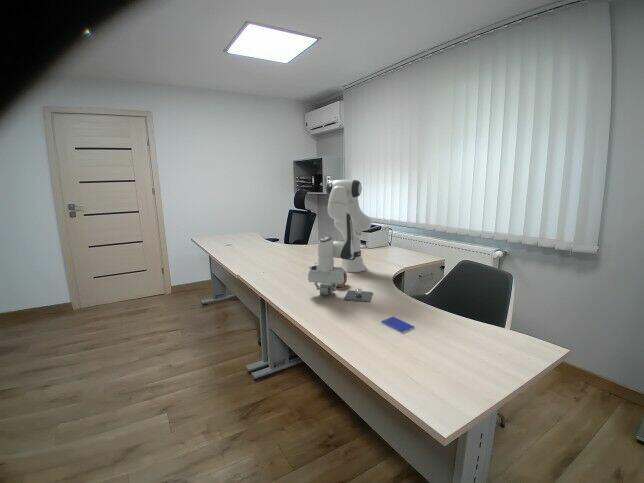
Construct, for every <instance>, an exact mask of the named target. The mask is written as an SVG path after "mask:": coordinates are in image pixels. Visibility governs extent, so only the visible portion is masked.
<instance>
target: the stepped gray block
mask: <svg viewBox="0 0 644 483" xmlns="http://www.w3.org/2000/svg"><path fill="white" fill-rule="evenodd" d="M319 286H320V289H319V296H323V297H332V296H333V294H334V292H335V291H333V287H334V285H333V284H331V283H320V285H319Z"/></svg>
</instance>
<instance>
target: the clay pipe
mask: <svg viewBox="0 0 644 483" xmlns="http://www.w3.org/2000/svg"><path fill="white" fill-rule="evenodd" d="M347 279H348V274H347V272H346V271H344V283H343V284H338V285H337V287H338V288H341V287H344V286H345V285H346V283H347ZM333 287H335V284H333Z"/></svg>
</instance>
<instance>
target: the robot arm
mask: <svg viewBox="0 0 644 483" xmlns="http://www.w3.org/2000/svg"><path fill="white" fill-rule="evenodd" d="M362 190H363V186H362V183H361V182H360V180H357V179H347V178H346V179H336V180H335V179H331V180H329V181H328V182H327V183H326V186H325V192H326V194H327V196H329V197H328V203H327V214H328V216H329V218H331V219H333V220H334V222H333V223H334V224H333V225H334V228H336V230H337V231H338V232H340V233H341V235H342V237H343V241H341V240H333V237H330V236H323V237H320V238H318V239H319V240H318V241H317V242H318V243H317V256H318V257H317V262H315V263H312V264H311V265H310V266H309V271H308V273H307V274H308V275H307V276H308V277H307V280H308V282H309V283H314V286H315V288H316V291H320V285H318V283H320V284H321V283H331V284H335V286H333V291H334V292H336V291H337V287H338V286H337V285H338V284H343V283H344V271H345V272H346V273H360V272H364V271H365V272H366V271H367V269H366V264H365V263H363V262H364V259H363V257H362V250H361V243H362V242H361V238H360V237H358V236H357V235H355V234H354V232H364V231H365V232H366V231H369V230H370V229H371V227H372V219H371V218H370V217H369V216H368V215H367V214H365V213H364V212H363V210H362V209H361V207H360V204H359V197H360V195H361V193H362ZM334 259H341V266H335V261H334Z"/></svg>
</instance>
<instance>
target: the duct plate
mask: <svg viewBox="0 0 644 483" xmlns="http://www.w3.org/2000/svg"><path fill="white" fill-rule="evenodd" d="M372 296H373V291H365V290H364V291H362V289H361V288H355V290H349V289H348V290H347V293H345V296H344V297H343V301H350V302H361V303H362V302H363V303H370V302H371V299H372Z"/></svg>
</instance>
